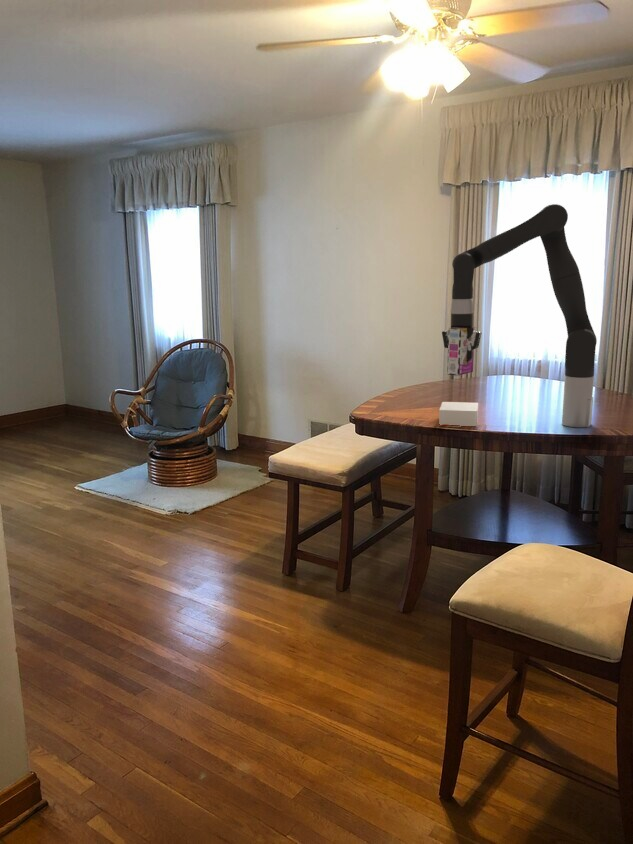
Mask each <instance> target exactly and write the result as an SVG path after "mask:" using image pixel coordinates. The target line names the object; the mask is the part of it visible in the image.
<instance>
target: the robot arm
mask: <svg viewBox="0 0 633 844" xmlns="http://www.w3.org/2000/svg"><path fill="white" fill-rule="evenodd" d="M568 217H569V216H568V211H567V209H566V208H565V207H564V206H562V205H561V204H557V203H556V204H555V203H551V204H548V205H546V206H544V207H543V208H542V209H541V210H540V211H539V212H538V213H536V214H535V215H533V216H532V217H530V218H529V219H527V220H525V221H523V222H522V223H520V224H518V225H517V226H514V227H512V228H510V229H508V230H505V231H503V232H502V233H499V234H497V235H495V236H492V237H491V238H489V239H487V240H485V241H482V242H481V243H479V244H478V245H476V246H474V247H472V248H470V249H468V250H466V251H464V252H461V253H458V254H457V255H456V256H454V257H453V260H452V264H451V265H452V269H453V284H452V289H451V290H452V292H451V294H452V297H451V305H450V307H451V308H450V328H454V327H463V328H467V336H466V345H467V348H468V351H467V361H471V359H472V358H473V350H474V351H475V350H476V349H479V347H480V342H481V337H482V331H477V330H475V331H474V330H473V327H474V301H473V300H474V299H473V298H474V296H473V295H474V285H473V284H474V276H475V269H477V268H478V267H481V266H482V265H484V264H487V263H491V262H492V261H496V260H497V259H499V258H501V257H504V255H506V254H508V253H511V252H512V251H514V250H515V249H518V248H519V247H520V246H522V245H524V244H526V243H527V242H530V241H532V240H533V239H536V238H538V237H540V239H541V242H542V245H543V248H544V252H545V255H546V263H547V266H548V267H547V268H548V272H549V278H550V282H551V285H552V290H553V293H554V296H555V298H556V301H557V303H558V305H559V308H560V310H561V312H562V315H563V317H564V322H565V326H566V331H567V338H566V342H565V355H564V356H565V357H564V359H565V360H564V361H565V362H564V383H563V384H564V386H563V400H562V402H563V403H562V415H561V416H562V417H561V425H563V426H565V427H570V428H571V427H572V428H590V427H591V425H592V423H593V422H592V420H593V407H594V396H593V394H594V391H593V390H594V379H595V378H594V377H595V360H596V348H597V347H596V346H597V343H598V342H597V340H598V339H597V336H596V333H595V331H594V328H593V326H592V323H591V321H590V318H589V314H588V310H587V306H586V305H587V304H586V298H585V290H584V285H583V281H582V277H581V274H580V269H579V266H578V264H577V262H576V260H575V258H574V256H573V254H572V252H571V250H570V248H569V246H568V242H567V238H566V237H567V236H566V230H565V226H566V224H567V223H568ZM472 334H474V337H475V338H474V345H472V341H471V339H470V341H468V339H469V338H470V337H471V336H472ZM441 336H442V342H443V346H444V348H445V349H448V337H449V330H443V331H441Z"/></svg>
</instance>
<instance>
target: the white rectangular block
mask: <svg viewBox="0 0 633 844" xmlns="http://www.w3.org/2000/svg"><path fill="white" fill-rule="evenodd" d="M438 413H439V414H438V415H439V416H438V425H439V424H449V425H460V426H459V427H461V426H477V427H478V420H479V402H464V401H463V402H461V401H442V402H441V404H440V407H439V412H438Z"/></svg>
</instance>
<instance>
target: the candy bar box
mask: <svg viewBox="0 0 633 844" xmlns="http://www.w3.org/2000/svg"><path fill="white" fill-rule="evenodd" d="M473 330H474V331H476V327H475V326H473ZM448 331H449V336H448V348H447V371H446V372H447V373H446V374H447V375H448V376H461V375H465V374H470V373H474V356H475V353H474V352H475V349H474V350H473V358H472V359H471V361H467V351H468V348H467V345H466V336H467V328H463V327H454V328H451V327H448ZM470 339H471V341H472V345H474V341H475V337H474V334H472V336H471V337H470V338H469V339H468V341H470Z"/></svg>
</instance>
